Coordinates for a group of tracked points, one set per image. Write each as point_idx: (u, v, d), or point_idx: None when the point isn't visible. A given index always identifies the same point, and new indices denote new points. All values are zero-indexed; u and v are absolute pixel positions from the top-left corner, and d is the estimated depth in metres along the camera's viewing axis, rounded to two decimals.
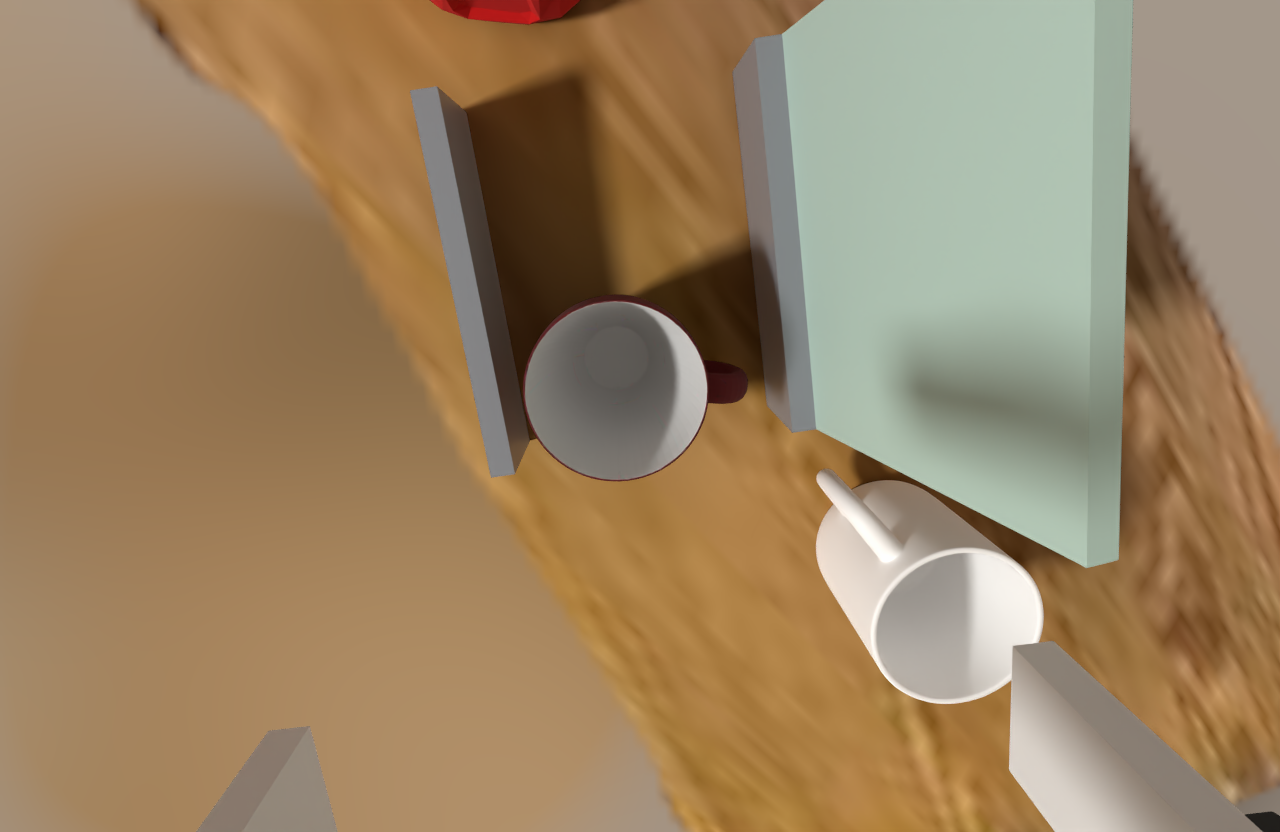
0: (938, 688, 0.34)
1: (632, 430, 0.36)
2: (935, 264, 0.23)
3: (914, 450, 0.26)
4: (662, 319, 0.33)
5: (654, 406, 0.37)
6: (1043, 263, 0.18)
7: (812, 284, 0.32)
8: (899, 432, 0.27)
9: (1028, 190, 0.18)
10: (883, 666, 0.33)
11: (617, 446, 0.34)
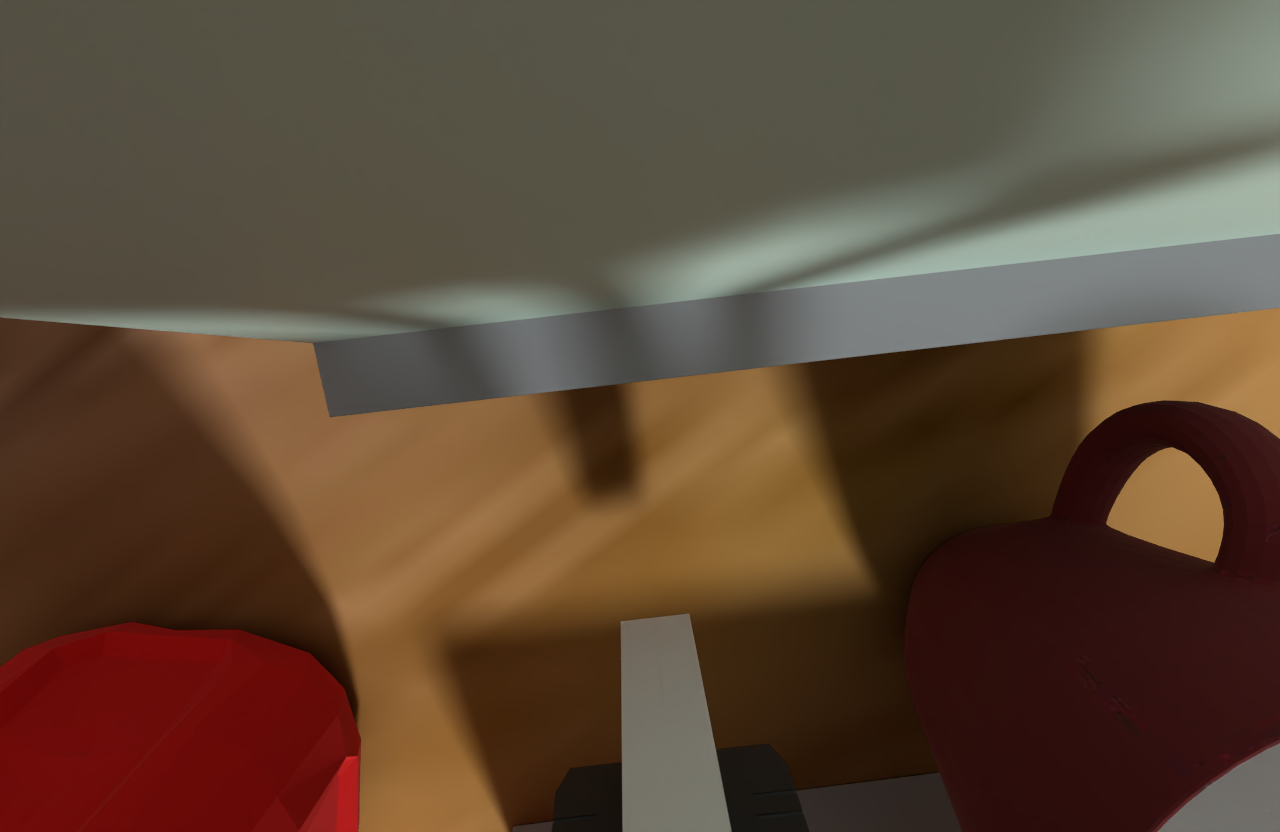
0: None
1: None
2: None
3: None
4: None
5: None
6: None
7: (1029, 256, 0.10)
8: None
9: None
10: None
11: None
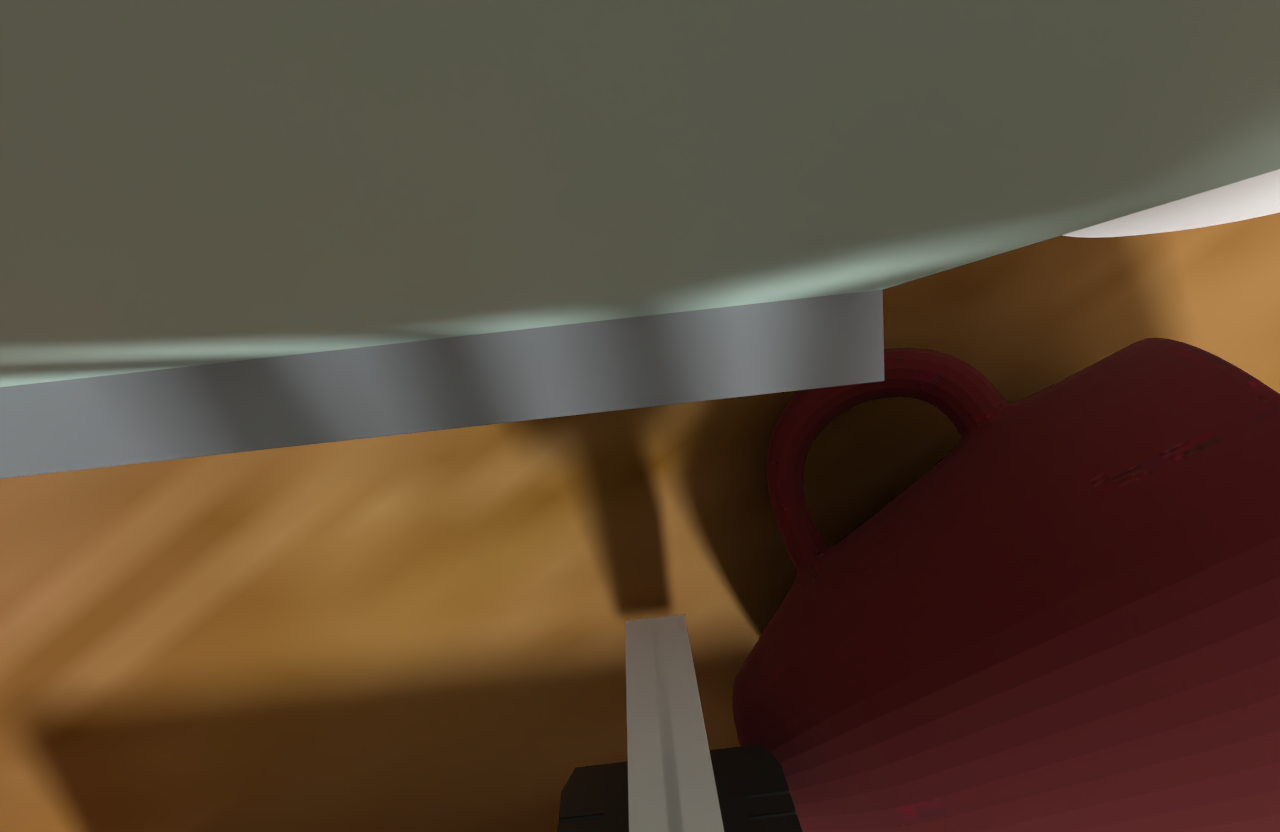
0: None
1: None
2: None
3: None
4: None
5: None
6: None
7: (289, 349, 0.08)
8: None
9: None
10: None
11: None
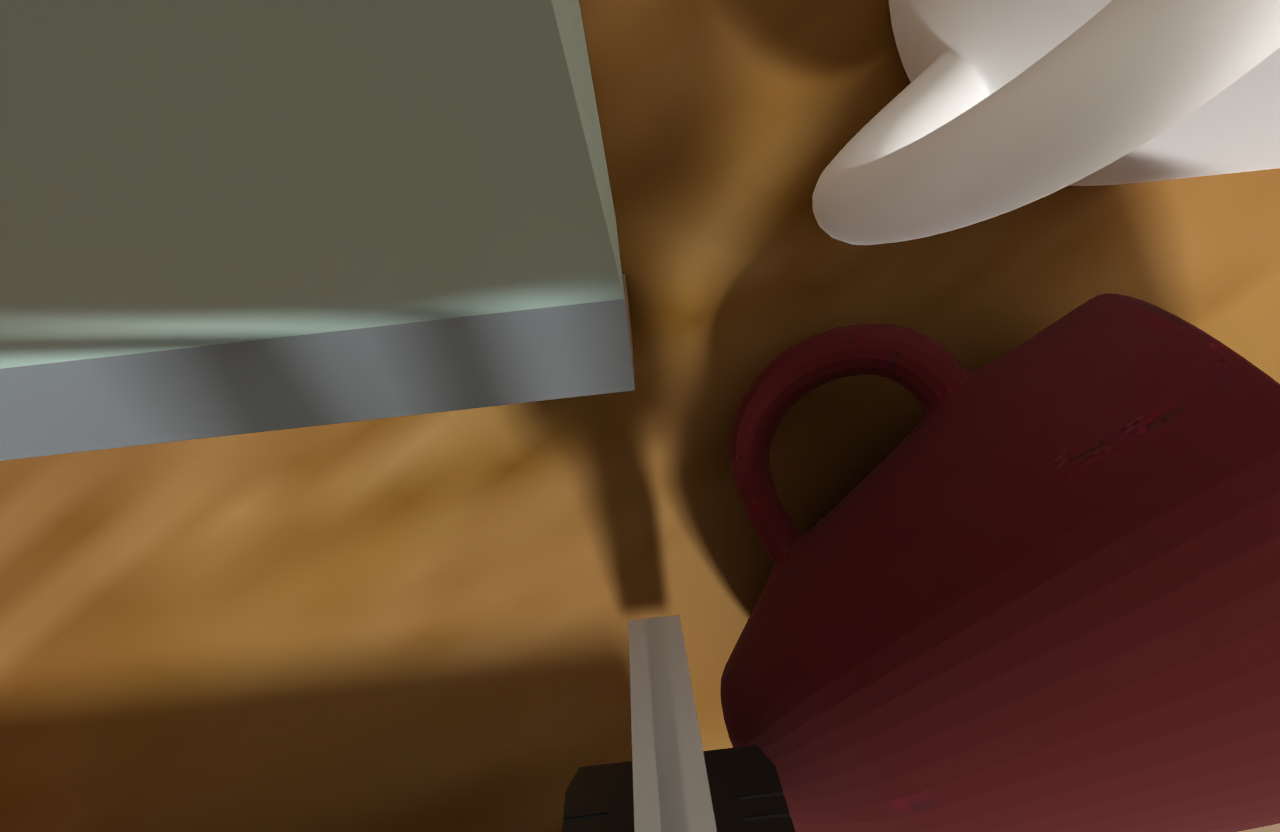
0: None
1: None
2: None
3: None
4: None
5: None
6: None
7: None
8: None
9: None
10: None
11: None
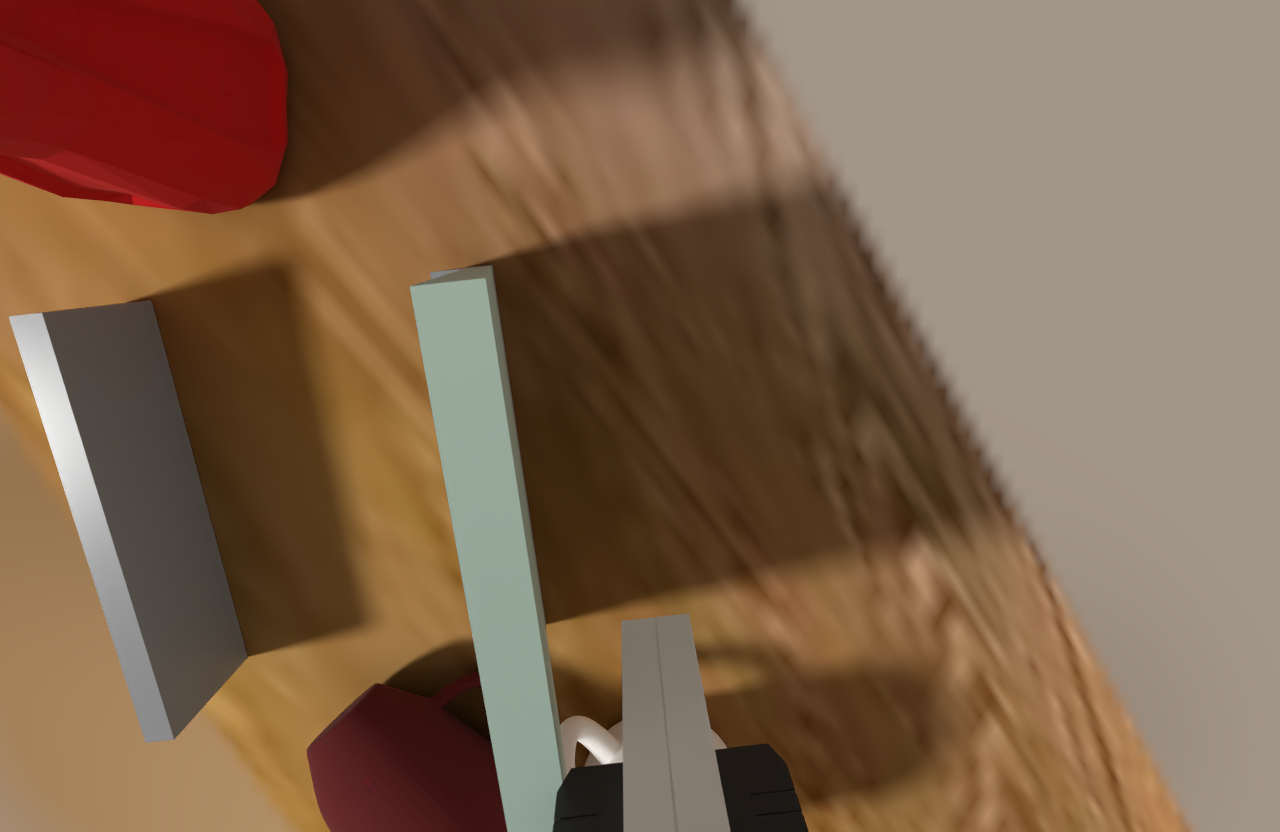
0: None
1: None
2: None
3: None
4: None
5: None
6: None
7: None
8: None
9: None
10: None
11: None
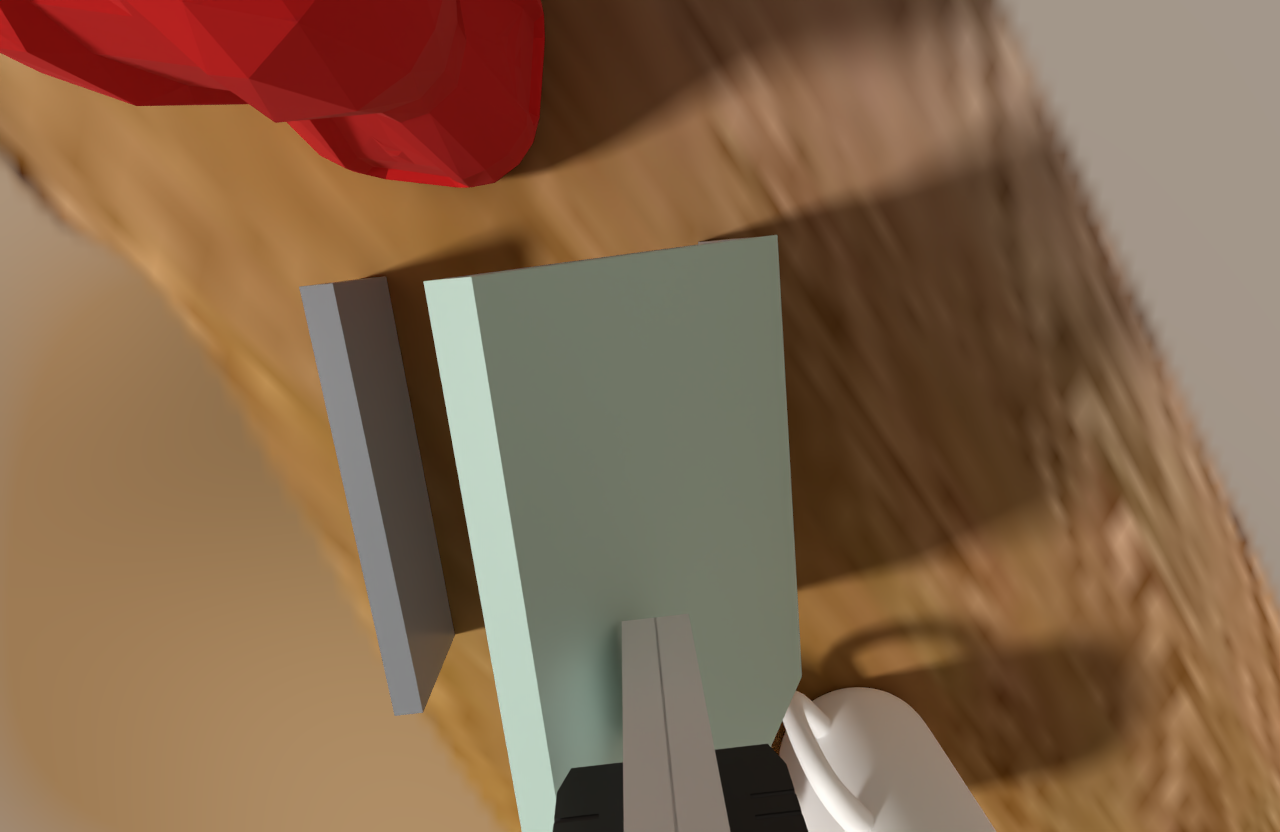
0: None
1: None
2: None
3: None
4: None
5: None
6: None
7: None
8: None
9: None
10: None
11: None
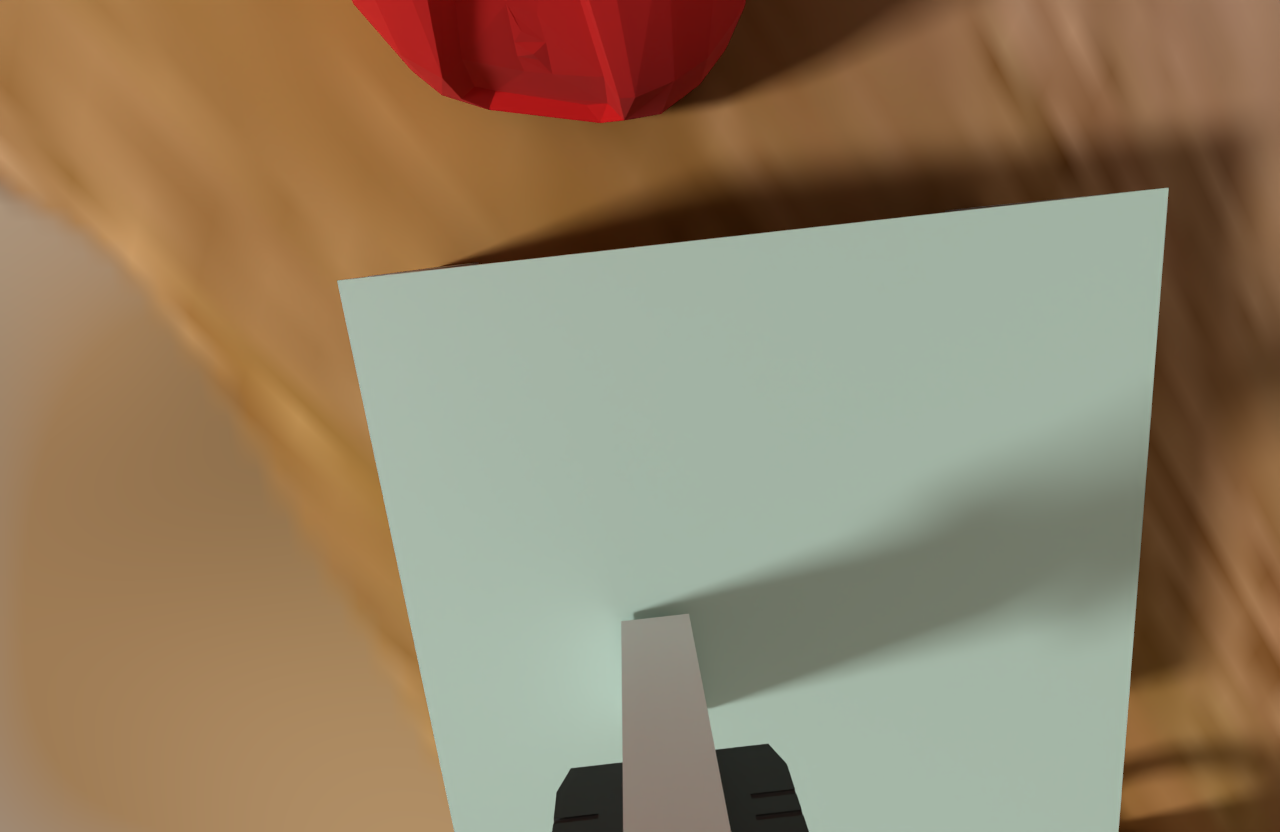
0: None
1: None
2: None
3: None
4: None
5: None
6: None
7: None
8: None
9: None
10: None
11: None
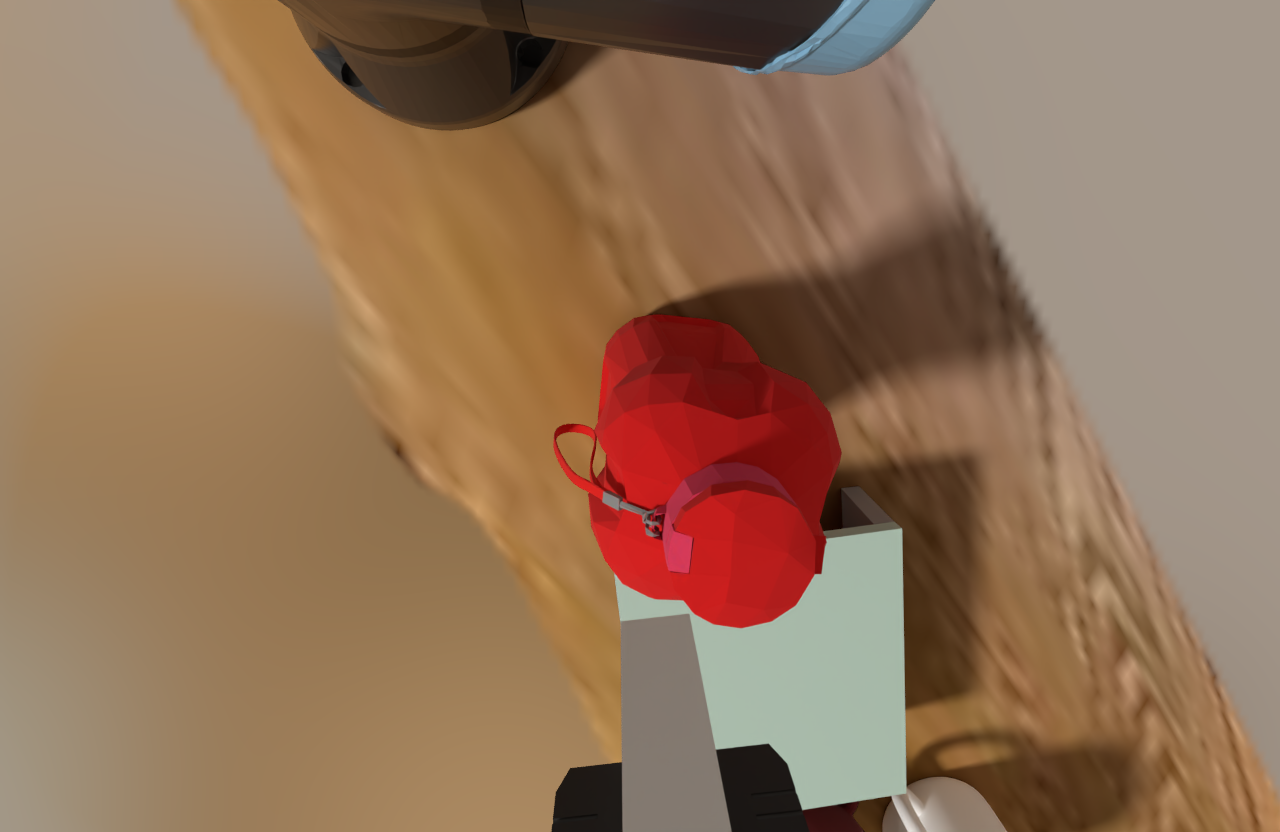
0: None
1: None
2: None
3: None
4: None
5: None
6: None
7: None
8: None
9: None
10: None
11: None
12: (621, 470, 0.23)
